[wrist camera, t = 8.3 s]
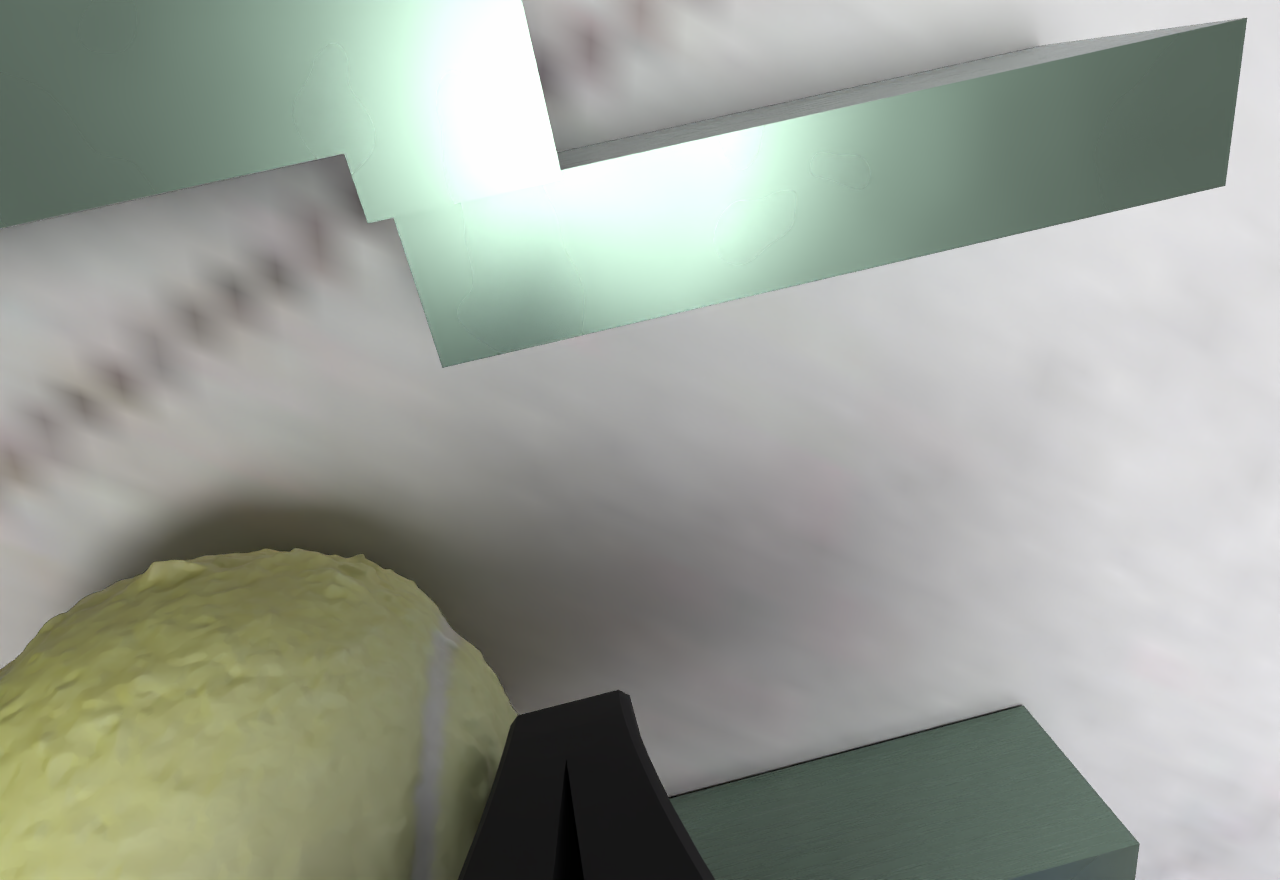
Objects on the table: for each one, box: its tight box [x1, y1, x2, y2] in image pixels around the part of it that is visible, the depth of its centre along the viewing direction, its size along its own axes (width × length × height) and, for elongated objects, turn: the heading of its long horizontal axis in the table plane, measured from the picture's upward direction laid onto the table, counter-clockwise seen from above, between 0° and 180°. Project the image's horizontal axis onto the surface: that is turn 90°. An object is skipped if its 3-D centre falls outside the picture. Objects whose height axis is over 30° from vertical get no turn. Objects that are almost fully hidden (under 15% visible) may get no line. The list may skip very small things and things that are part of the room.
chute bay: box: [0, 0, 1247, 880], centre depth 10 cm, size 17×20×4 cm
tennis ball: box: [0, 548, 518, 880], centre depth 9 cm, size 6×7×7 cm
